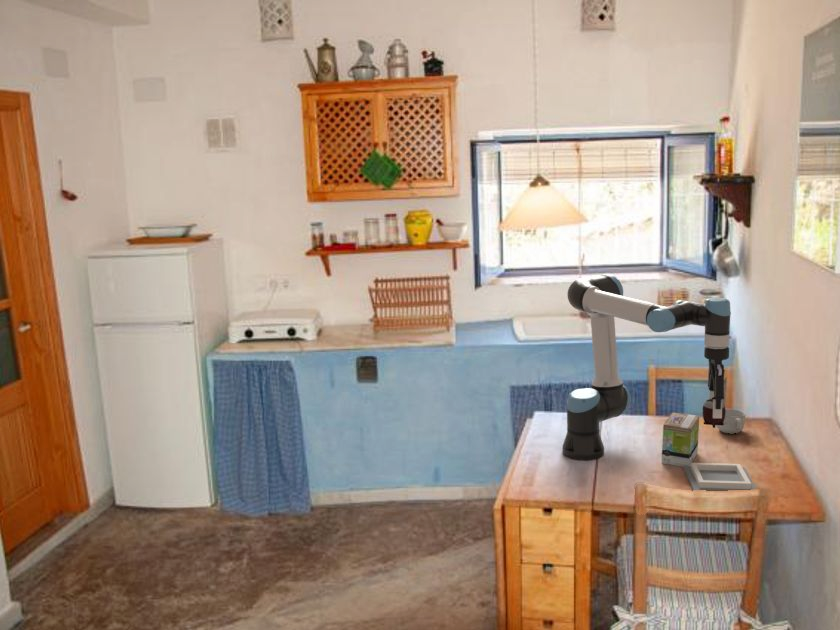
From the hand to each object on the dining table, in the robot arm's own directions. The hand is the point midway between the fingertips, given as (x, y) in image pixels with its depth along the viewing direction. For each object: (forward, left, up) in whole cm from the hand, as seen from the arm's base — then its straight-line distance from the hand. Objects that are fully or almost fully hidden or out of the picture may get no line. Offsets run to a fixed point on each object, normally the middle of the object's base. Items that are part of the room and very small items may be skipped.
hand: (715, 413), depth 258 cm
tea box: (-8, +19, -24) cm, 32 cm away
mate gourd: (0, 0, -4) cm, 4 cm away
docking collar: (+2, 0, -24) cm, 24 cm away
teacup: (+15, +46, -24) cm, 54 cm away
